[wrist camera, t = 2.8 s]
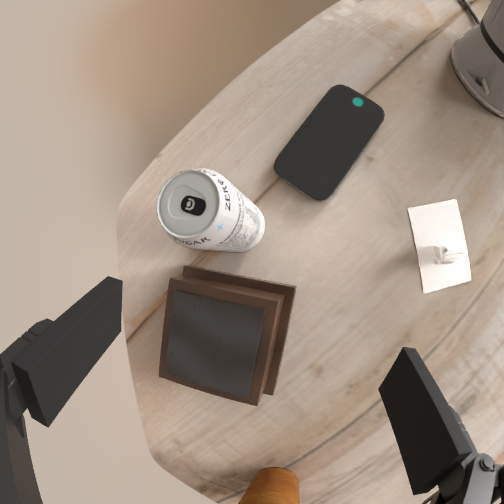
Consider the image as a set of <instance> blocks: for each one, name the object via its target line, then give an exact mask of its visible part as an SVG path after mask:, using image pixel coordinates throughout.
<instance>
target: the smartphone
mask: <svg viewBox="0 0 504 504" xmlns="http://www.w3.org/2000/svg"><path fill="white" fill-rule="evenodd" d="M383 120H384V111H383V109H382V108H381V107H380V106H379V105H378V104H376V103H375V102H373V101H372V100H370V99H368V98H367V97H365V96H363V95H362V94H360V93H358V92H356V91H355V90H353V89H351V88H349V87H347V86H345V85H335V86H334V87H332V88H331V89H330V90H329V91H328V92H327V93H326V95H325V96H324V97H323V98H322V100H321V101H320V102H319V104H318V105H317V106H316V107H315V109H314V110H313V111H312V112H311V114H310V115H309V116H308V118H307V119H306V120H305V121H304V123H303V124H302V125H301V127H300V128H299V129H298V131H297V132H296V133H295V134H294V136H293V137H292V138H291V140H290V141H289V142H288V144H287V145H286V146H285V148H284V149H283V150H282V152H281V153H280V154H279V156H278V157H277V159H276V161H275V164H274V170H275V172H276V173H277V175H278V176H279V177H280V178H282V179H283V180H284V181H286V182H287V183H289V184H290V185H292V186H293V187H295V188H296V189H298V190H299V191H301V192H302V193H303V194H305V195H306V196H308V197H309V198H311V199H313V200H315V201H318V202H323V201H326V200H327V199H329V198H330V197H331V196H332V195H333V194H334V192H335V191H336V189H337V188H338V187H339V185H340V184H341V182H342V181H343V179H344V178H345V177H346V175H347V174H348V172H349V171H350V169H351V168H352V166H353V165H354V164H355V162H356V161H357V159H358V158H359V156H360V155H361V153H362V152H363V150H364V149H365V148H366V146H367V145H368V143H369V142H370V140H371V139H372V137H373V136H374V134H375V133H376V131H377V130H378V128H379V127H380V125H381V124H382V122H383Z"/></svg>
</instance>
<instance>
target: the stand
mask: <svg viewBox="0 0 504 504" xmlns="http://www.w3.org/2000/svg"><path fill="white" fill-rule="evenodd" d="M295 292H296V286H292V285H287V284H282V283H276V282H271V281H266V280H261V279H255V278H250V277H245V276H240V275H235V274H230V273H225V272H220V271H215V270H210V269H205V268H200V267H195V266H190V265H186V266H184V270H183V276H182V277H175V278H170V280H169V287H168V294H167V302H166V310H165V318H164V326H163V335H162V345H161V355H160V366H159V377H162V378H165V379H167V380H170V381H173V382H176V383H179V384H182V385H185V386H188V387H191V388H194V389H197V390H200V391H203V392H207V393H210V394H213V395H217V396H220V397H224V398H227V399H231V400H235V401H239V402H242V403H246V404H250V405H255V406H257V405H258V403H259V401H260V399H261V397H262V394H263V393H264V394H268V395H273V394H274V391H275V387H276V382H277V378H278V374H279V369H280V365H281V360H282V356H283V351H284V346H285V342H286V337H287V332H288V327H289V322H290V317H291V312H292V307H293V302H294V297H295Z"/></svg>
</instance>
